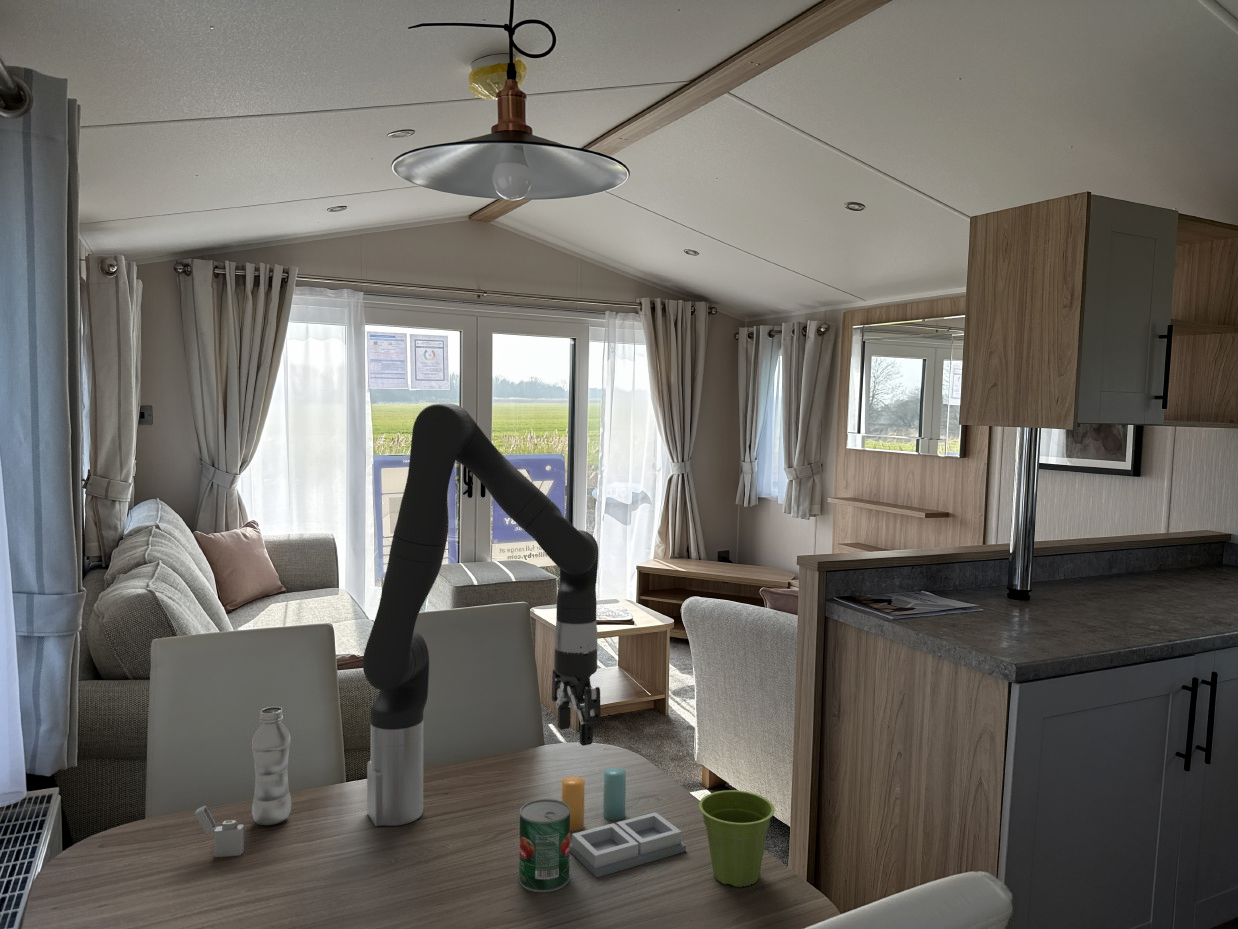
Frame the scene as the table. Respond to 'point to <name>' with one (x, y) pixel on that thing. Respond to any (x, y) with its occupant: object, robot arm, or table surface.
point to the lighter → (222, 834)
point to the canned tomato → (544, 845)
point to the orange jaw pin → (574, 801)
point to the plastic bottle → (271, 768)
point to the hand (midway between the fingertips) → (574, 736)
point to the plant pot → (736, 834)
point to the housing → (626, 844)
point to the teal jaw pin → (614, 793)
